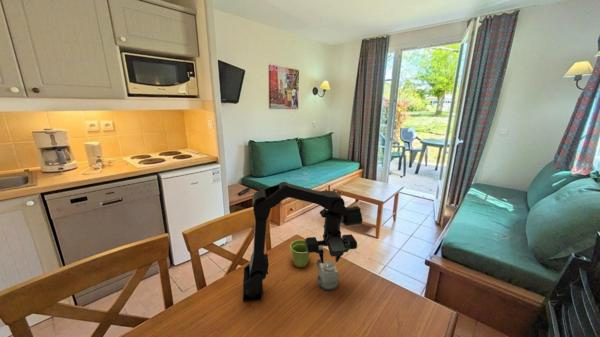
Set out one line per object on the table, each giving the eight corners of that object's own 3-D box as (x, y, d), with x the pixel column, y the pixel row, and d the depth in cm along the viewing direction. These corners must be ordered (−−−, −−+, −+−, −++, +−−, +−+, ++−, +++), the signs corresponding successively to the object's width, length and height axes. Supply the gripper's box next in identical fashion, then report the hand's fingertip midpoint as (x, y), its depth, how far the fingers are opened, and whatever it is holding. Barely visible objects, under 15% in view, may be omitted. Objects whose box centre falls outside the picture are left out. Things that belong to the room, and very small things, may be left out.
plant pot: (299, 273, 98) (300, 255, 96) (285, 261, 105) (285, 245, 102) (315, 263, 104) (316, 246, 102) (301, 253, 111) (301, 237, 108)
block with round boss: (322, 285, 90) (323, 270, 87) (318, 274, 95) (319, 260, 93) (337, 284, 91) (338, 268, 89) (332, 273, 96) (333, 258, 94)
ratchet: (340, 290, 90) (341, 279, 89) (320, 292, 89) (321, 281, 87) (328, 261, 106) (328, 252, 104) (310, 263, 104) (311, 253, 103)
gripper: (312, 240, 77) (310, 280, 81) (366, 236, 80) (361, 274, 85) (305, 223, 87) (303, 259, 92) (353, 220, 91) (349, 255, 95)
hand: (329, 262), depth 90 cm, fingers open, 5 cm apart
